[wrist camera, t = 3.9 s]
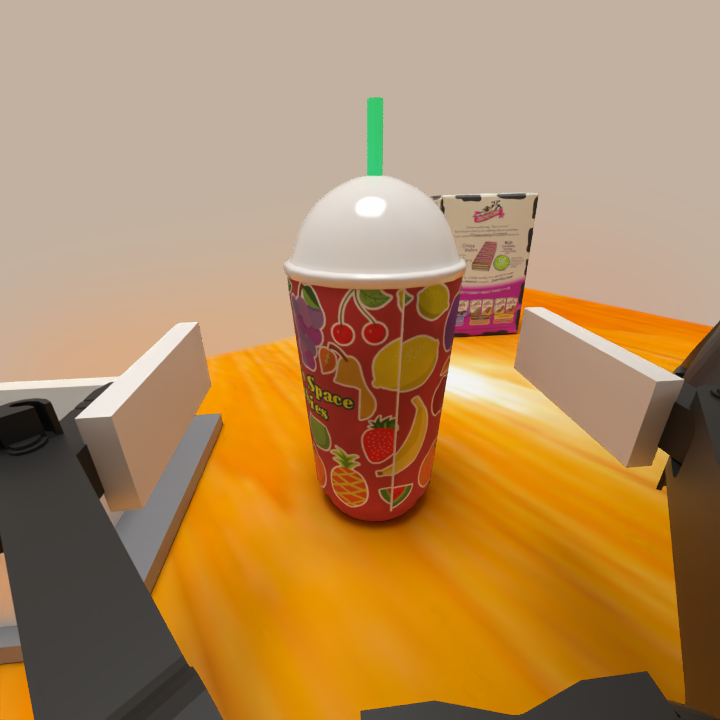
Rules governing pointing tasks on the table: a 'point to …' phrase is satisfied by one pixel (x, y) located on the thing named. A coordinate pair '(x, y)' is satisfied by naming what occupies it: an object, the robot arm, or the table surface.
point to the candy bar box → (491, 257)
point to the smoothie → (374, 333)
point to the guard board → (135, 527)
